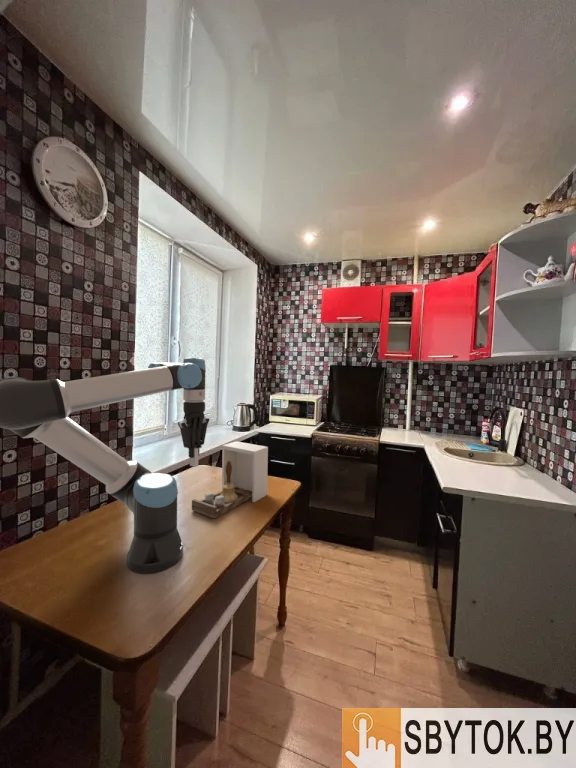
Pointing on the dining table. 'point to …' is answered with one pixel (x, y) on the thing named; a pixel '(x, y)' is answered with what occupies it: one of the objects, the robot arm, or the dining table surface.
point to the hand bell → (228, 486)
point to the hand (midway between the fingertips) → (194, 465)
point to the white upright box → (246, 467)
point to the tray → (214, 509)
